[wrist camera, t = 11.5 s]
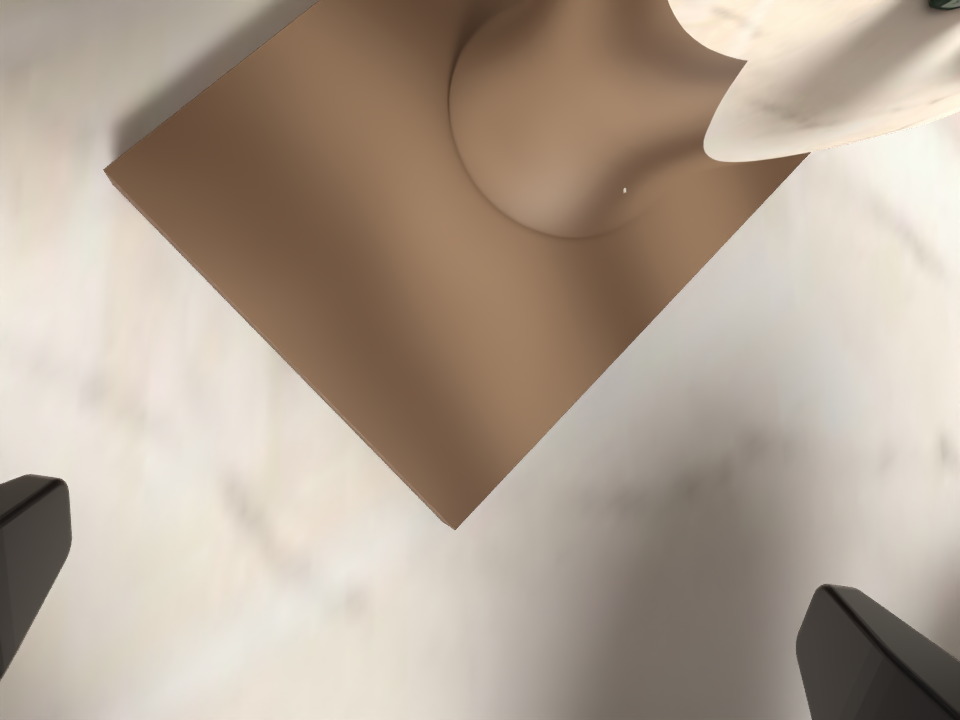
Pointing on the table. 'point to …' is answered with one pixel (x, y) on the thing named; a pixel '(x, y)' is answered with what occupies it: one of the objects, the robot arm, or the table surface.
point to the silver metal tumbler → (682, 94)
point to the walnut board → (409, 243)
